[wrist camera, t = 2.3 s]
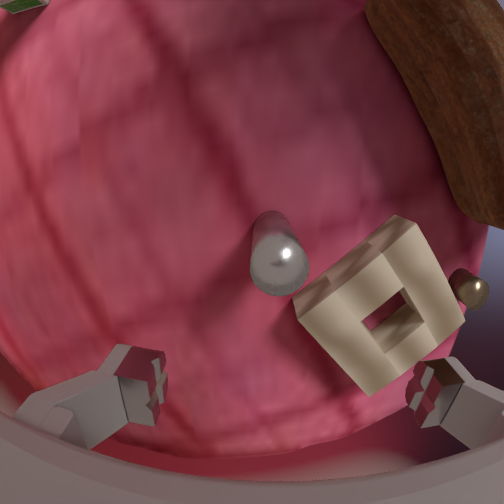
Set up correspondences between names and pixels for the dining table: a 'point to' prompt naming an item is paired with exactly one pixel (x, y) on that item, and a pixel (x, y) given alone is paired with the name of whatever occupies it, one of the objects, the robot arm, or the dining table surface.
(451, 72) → the bread
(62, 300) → the dining table surface
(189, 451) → the dining table surface
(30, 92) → the dining table surface
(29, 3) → the skincare box
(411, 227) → the birch block
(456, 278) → the short bronze pin
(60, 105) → the dining table surface
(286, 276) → the tall steel pin
